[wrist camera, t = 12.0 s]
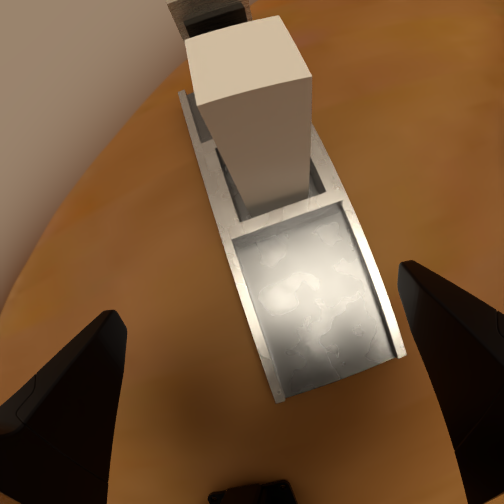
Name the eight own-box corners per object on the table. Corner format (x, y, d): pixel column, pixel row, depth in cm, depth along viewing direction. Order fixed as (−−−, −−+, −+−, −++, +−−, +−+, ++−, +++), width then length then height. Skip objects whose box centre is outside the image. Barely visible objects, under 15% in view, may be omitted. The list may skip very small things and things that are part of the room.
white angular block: (307, 202, 22) (311, 76, 10) (251, 217, 22) (196, 105, 10) (289, 146, 23) (274, 8, 11) (237, 160, 23) (183, 32, 11)
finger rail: (397, 351, 20) (518, 384, 7) (276, 395, 21) (242, 499, 7) (278, 75, 26) (258, -56, 12) (184, 107, 27) (119, -10, 13)
